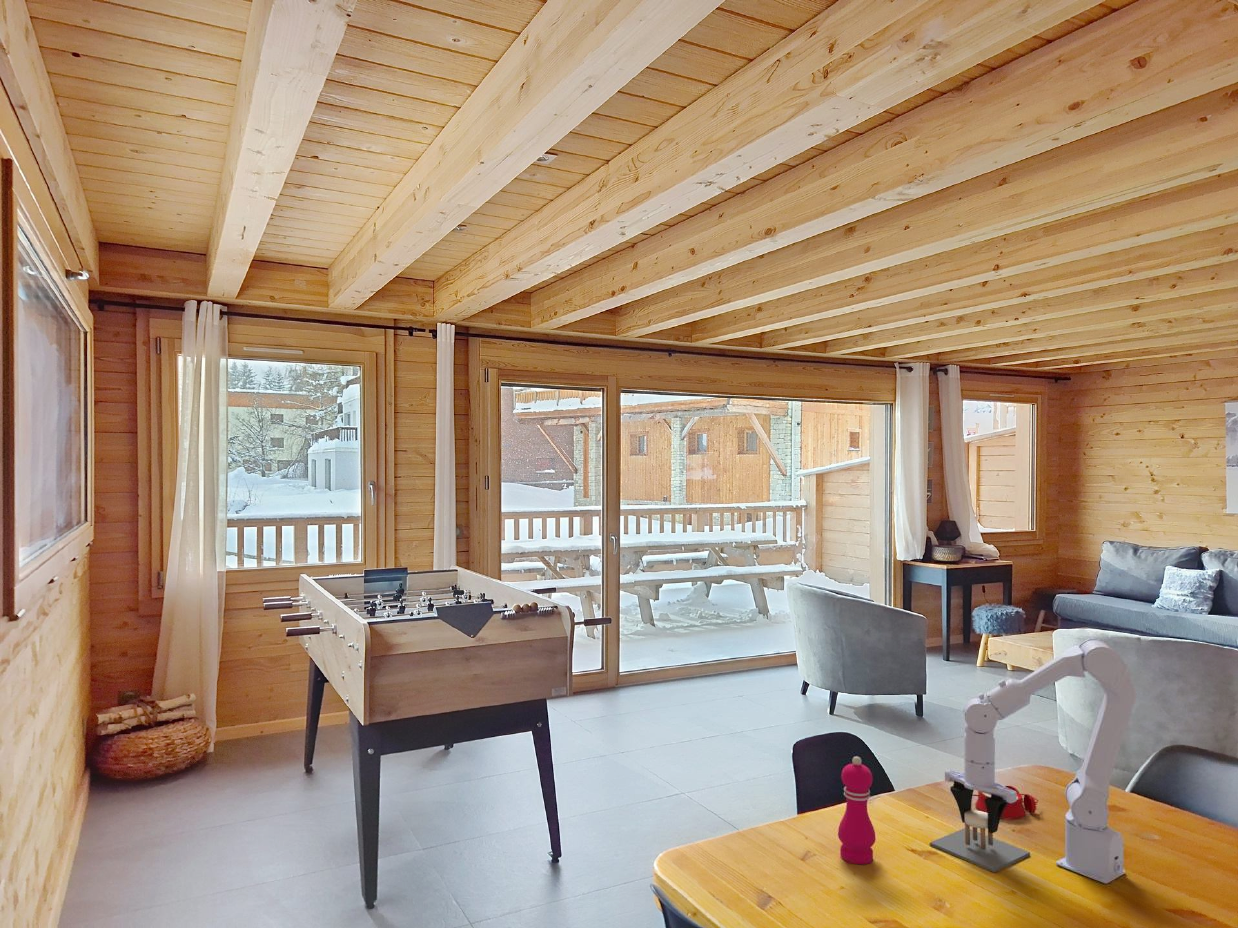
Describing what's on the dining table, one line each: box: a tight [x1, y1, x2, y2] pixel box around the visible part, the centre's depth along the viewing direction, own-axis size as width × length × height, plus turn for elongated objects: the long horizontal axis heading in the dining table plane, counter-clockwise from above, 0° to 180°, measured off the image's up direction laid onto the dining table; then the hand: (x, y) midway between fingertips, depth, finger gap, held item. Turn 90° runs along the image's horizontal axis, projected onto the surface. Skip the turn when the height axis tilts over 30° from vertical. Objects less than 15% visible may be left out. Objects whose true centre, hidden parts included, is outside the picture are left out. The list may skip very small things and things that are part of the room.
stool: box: [964, 809, 994, 850], centre depth 166 cm, size 5×5×6 cm
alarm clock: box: [972, 785, 1039, 820], centre depth 187 cm, size 10×6×15 cm
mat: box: [929, 827, 1031, 873], centre depth 166 cm, size 14×13×1 cm
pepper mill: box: [837, 756, 876, 865], centre depth 163 cm, size 7×7×20 cm
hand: (979, 826), depth 166 cm, fingers closed on stool, 5 cm apart
